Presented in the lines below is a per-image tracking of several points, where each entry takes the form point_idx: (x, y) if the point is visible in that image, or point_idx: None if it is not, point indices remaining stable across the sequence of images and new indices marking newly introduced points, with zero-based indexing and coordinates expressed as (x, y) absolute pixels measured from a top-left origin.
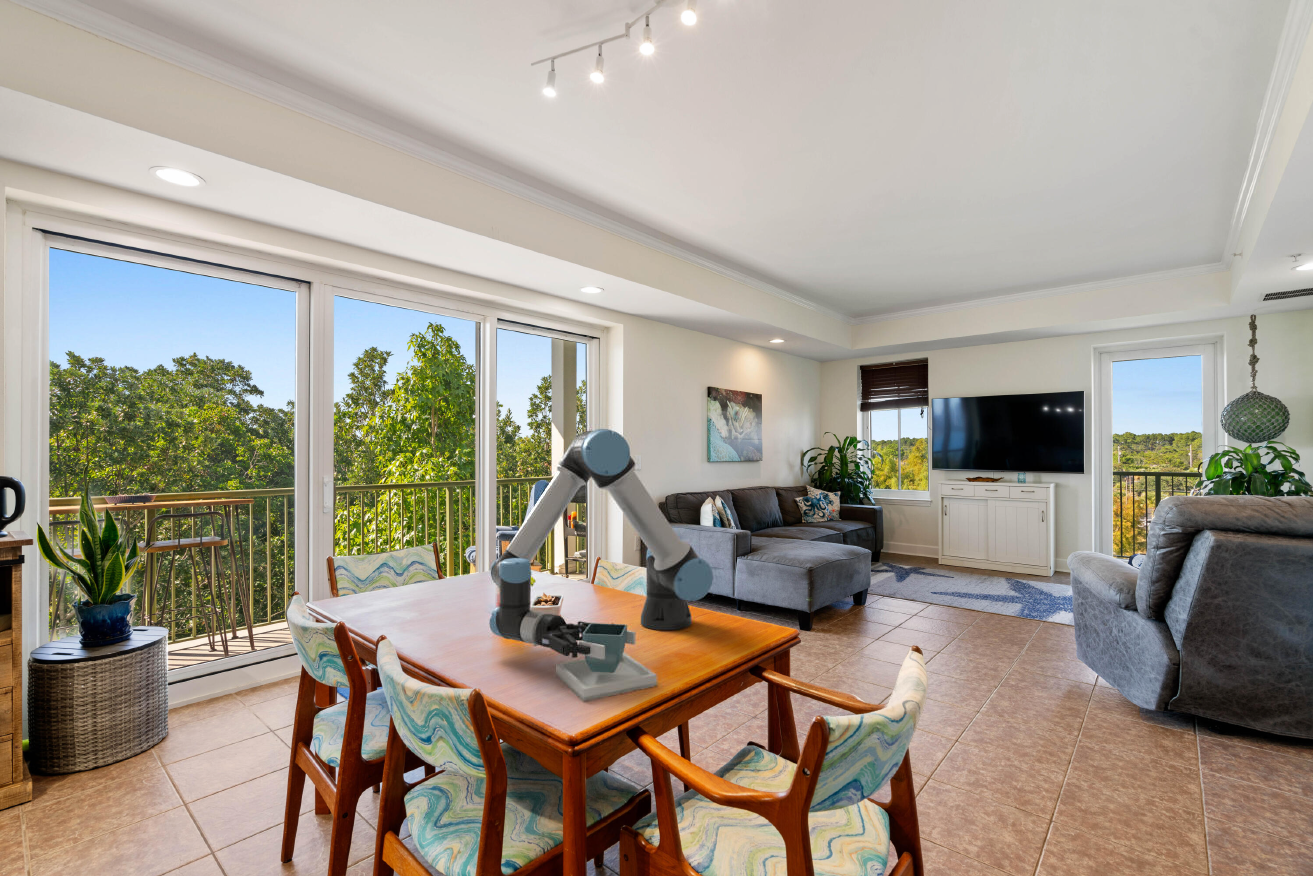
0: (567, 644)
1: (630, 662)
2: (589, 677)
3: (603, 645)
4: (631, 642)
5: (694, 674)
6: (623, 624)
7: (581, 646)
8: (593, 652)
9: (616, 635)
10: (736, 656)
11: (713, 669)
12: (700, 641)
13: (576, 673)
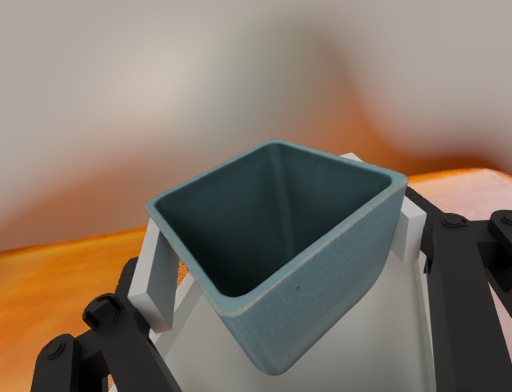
0: (509, 212)
1: (173, 323)
2: (341, 355)
3: (344, 157)
4: None
5: (139, 239)
6: (148, 209)
7: (420, 202)
8: None
9: (285, 141)
10: (12, 258)
11: (100, 238)
12: None
13: None
